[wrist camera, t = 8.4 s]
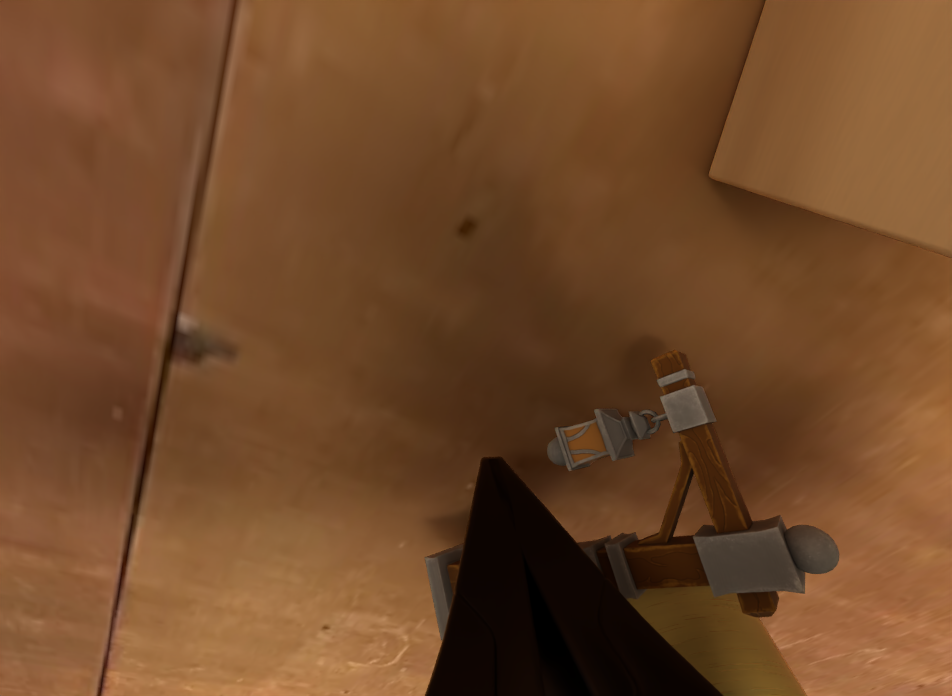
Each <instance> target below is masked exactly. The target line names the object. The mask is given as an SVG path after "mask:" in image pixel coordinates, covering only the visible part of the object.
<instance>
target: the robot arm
mask: <svg viewBox="0 0 952 696" xmlns="http://www.w3.org/2000/svg"><path fill="white" fill-rule="evenodd" d="M425 696H724V695H723V694H722V693H720V692H719V691H718V690H717V689H716V688H715V687H714V686H713V685H712V684H711V683H710V682H709V681H708V680H707V679H706V678H705V677H704V676H703V675H702V674H701V673H700V672H699V671H697V670H696V669H695V668H694V667H693V666H692V665H691V664H690V663H689V662H688V661H687V660H686V659H685V658H684V657H683V656H682V655H681V654H680V653H679V652H678V651H677V650H676V649H675V648H673V647H672V646H671V645H670V644H669V643H668V642H667V641H666V640H665V639H664V638H663V637H662V636H661V635H660V634H659V633H658V632H657V631H656V630H655V629H654V628H653V627H652V626H651V625H650V624H649V623H648V622H647V621H646V620H645V619H644V618H643V617H642V616H641V615H640V613H639V612H638V611H637V610H636V609H635V608H634V607H633V606H632V605H631V604H630V603H629V601H628V600H627V599H626V598H625V597H624V596H623V595H622V594H621V593H620V592H619V590H618V589H617V588H616V587H615V586H614V585H613V583H612V582H611V581H610V580H609V579H605V575H604V573H603V572H602V571H601V570H600V569H599V568H598V567H597V565H596V564H595V563H594V562H593V561H592V560H591V559H590V557H589V556H588V555H587V554H586V553H585V552H584V550H583V549H582V548H581V547H580V546H579V545H578V544H577V542H576V541H575V540H574V539H573V538H572V537H571V536H570V534H569V533H568V532H567V531H566V530H565V529H564V528H563V526H562V525H561V524H560V523H559V522H558V521H557V520H556V518H555V517H554V516H553V515H552V514H551V513H550V512H549V510H548V509H547V508H546V507H545V506H544V505H543V504H542V502H541V501H540V500H539V499H538V498H537V497H536V496H535V494H534V493H533V492H532V491H531V490H530V489H529V488H528V486H527V485H526V484H525V483H524V482H523V481H522V480H521V478H520V477H519V476H518V475H517V474H516V473H515V472H514V470H513V469H512V468H511V467H510V466H509V465H508V464H507V462H506V461H505V460H504V459H503V458H502V457H499V456H498V457H483V458H482V459H481V462H480V467H479V472H478V477H477V482H476V486H475V491H474V496H473V501H472V506H471V511H470V516H469V520H468V525H467V530H466V535H465V540H464V545H463V549H462V554H461V559H460V564H459V569H458V574H457V579H456V583H455V588H454V594H453V597H452V602H451V607H450V611H449V616H448V620H447V624H446V628H445V632H444V637H443V641H442V644H441V648H440V651H439V654H438V657H437V660H436V664H435V667H434V670H433V673H432V676H431V679H430V682H429V685H428V688H427V691H426V694H425Z"/></svg>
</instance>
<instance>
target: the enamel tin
mask: <svg viewBox="0 0 952 696" xmlns="http://www.w3.org/2000/svg"><path fill="white" fill-rule="evenodd" d="M627 600H628V601H629V603H630V604H631V605H632V606H633V607H634V608H635V609H636V610H637V611H638V612H639V613H640V615H641V616H642V617H643V618H644V619H645V620H646V621H647V622H648V623H649V624H650V625H651V626H652V627H653V628H654V629H655V630H656V631H657V632H658V633H659V634H660V635H661V636H662V637H663V638H664V639H665V640H666V641H667V642H668V643H669V644H670V645H671V646H672V647H673V648H675V649H676V650H677V651H678V652H679V653H680V654H681V655H682V656H683V657H684V658H685V659H686V660H687V661H688V662H689V663H690V664H691V665H692V666H693V667H694V668H695V669H696V670H697V671H699V672H700V673H701V674H702V675H703V676H704V677H705V678H706V679H707V680H708V681H709V682H710V683H711V684H712V685H713V686H714V687H715V688H716V689H717V690H718V691H719V692H720V693H722V694H723V695H724V696H807V695H806V693H805V692H804V690H803V688H802V687H801V685H800V683H799V682H798V680H797V679H796V677H795V675H794V674H793V672H792V670H791V669H790V667H789V666H788V664H787V662H786V661H785V659H784V657H783V656H782V654H781V653H780V651H779V649H778V648H777V646H776V644H775V643H774V641H773V640H772V638H771V636H770V635H769V633H768V631H767V630H766V628H765V627H764V625H763V623H762V622H761V620H760V618H759V617H752V616H749V615H746V614H743V613H742V610H741V606H740V603H739V600H738V596H737V593H729V594H725V595H722V596H718V597H714V596H713V593H712V590H711V587H710V586H695V587H676V588H657V589H647V590H646V591H645V592H644V593H643V594H642V595H641V596H640V597H639V598H638V599H633V598H629V599H627Z"/></svg>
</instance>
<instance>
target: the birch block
mask: <svg viewBox="0 0 952 696" xmlns="http://www.w3.org/2000/svg"><path fill="white" fill-rule="evenodd" d="M709 177H710V178H711V179H713V180H716V181H719V182H723V183H726V184H729V185H732V186H735V187H738V188H741V189H744V190H747V191H750V192H753V193H756V194H759V195H762V196H765V197H768V198H771V199H774V200H777V201H780V202H783V203H786V204H789V205H792V206H795V207H799V208H802V209H805V210H808V211H811V212H814V213H817V214H820V215H823V216H826V217H829V218H832V219H835V220H838V221H841V222H844V223H847V224H850V225H853V226H856V227H859V228H862V229H865V230H868V231H872V232H875V233H878V234H881V235H884V236H887V237H890V238H893V239H896V240H899V241H902V242H905V243H908V244H911V245H914V246H917V247H920V248H923V249H926V250H929V251H932V252H935V253H938V254H941V255H944V256H948V257H951V258H952V0H766V1H765V4H764V7H763V10H762V14H761V17H760V20H759V23H758V26H757V29H756V32H755V35H754V38H753V41H752V44H751V47H750V50H749V53H748V56H747V59H746V62H745V65H744V68H743V71H742V74H741V77H740V80H739V83H738V86H737V89H736V92H735V95H734V98H733V102H732V105H731V108H730V111H729V114H728V117H727V120H726V123H725V126H724V129H723V132H722V135H721V138H720V141H719V144H718V147H717V150H716V153H715V156H714V159H713V162H712V165H711V168H710V171H709Z"/></svg>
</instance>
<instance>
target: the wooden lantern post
mask: <svg viewBox="0 0 952 696" xmlns="http://www.w3.org/2000/svg"><path fill="white" fill-rule="evenodd" d="M651 364H652V366H653V369H654V371H655V373H656V375H657V377H658V380H656V381H657V383H658V385H659V386H660V387H662V390H663V393H664V396H661V397H660V399H661V402H662V404H663V407H664V410H665V412H666V413H665V414H662V415H659V416H658V415H657V414H656V412H654V411H652V410H642V411H641V412H640V411H629V416H630V417H622V416H621V415H620V414H619V412H618V410H617V409H595V410H594V412H595V415H596V418H595V419H594V420H592V421H588V422H585V423H581V424H578V425H575V426H566V427H556V428H555V431H556V434H557V437H556V438H554V439H553V440H552V441H551V442H550V443H549V444H548V447H547V454H548V457H549V459H550V460H551V461H552V462H553V463H554V464H557V465H561V466H565V465H567V468H568V471H571V470H575V469H580V468H584V467H588V466H590V464H591V463H592V462H594V461H596V460H598V459H601V458H604V457H606V456H609V455H610V456H611V459H612V461H615V460H619V459H624V458H628V457H632V456H635V455H634V451H633V442H632V440H634V439H639V440H642V439H649V438H650V434H653V433H655V432H656V431H658V429H659V427H660V425H661V423H660V421H663V420H666V419H668V420H669V423H670V426H671V428H672V431H673V433H676V432H679V435H680V438H681V441H680V442H679V449H680V456H681V467H680V470H679V473H678V476H677V479H676V482H675V485H674V488H673V491H672V495H671V498H670V501H669V504H668V507H667V510H666V513H665V516H664V519H663V522H662V525H661V529H660V532H659V533H657V534H654V535H651V536H648V537H646V538H644V539H643V540H638V538H637V535H636V532H635V533H632V534H624V533H622V534H620V535H618V536H617V537H615V538H613V539H611V536H607V537H604V538H602V539H599V540H594V541H587V542H581V543H577V544H578V545H579V546H580V547H581V548H582V549H583V550H584V552H585V553H586V554H587V555H588V556H589V557H590V559H591V560H592V561H593V562H594V563H595V564H596V565H597V567H598V568H599V569H600V570H601V571H602V572H603V573H604V575H605V579H609V580H610V581H611V582H612V583H613V585H614V586H615V587H616V588H617V589H618V590H619V592H620V593H621V594H622V595H623V596H624V597H625V598H626V599H629V598H633V599H638V598H639V597H640V596H641V595H642V594H643V593H644V592H645V591H646V590H647V589H657V588H676V587H695V586H710V587H711V590H712V593H713V596H714V597H718V596H722V595H725V594H729V593H737V596H738V600H739V603H740V606H741V610H742V613H743V614H746V615H749V616H752V617H769V616H772V615H773V614H774V612H775V611H776V609H777V605H778V600H779V597H778V594H777V592H776V591H789V592H796V593H803V594H805V573H804V572H807V573H811V574H822V573H827V572H829V571H831V570H833V569H834V568H835V567H836V565H837V563H838V561H839V551H838V548H837V545H836V544H835V542H834V540H833V539H832V538H831V537H830V536H829V535H828V534H827V533H825V532H824V531H822V530H820V529H818V528H816V527H814V526H809V525H797V526H793V527H791V528H789V529H786V527H785V525H784V522H783V520H782V517H781V515H779V516H776V517H773V518H769V519H766V520H760V521H752V520H751V518H750V515H749V513H748V510H747V508H746V505H745V503H744V500H743V498H742V496H741V493H740V491H739V488H738V486H737V483H736V481H735V478H734V476H733V473H732V471H731V468H730V466H729V463H728V461H727V459H726V456H725V454H724V451H723V449H722V446H721V444H720V441H719V439H718V436H717V434H716V431H715V429H714V426H713V424H712V423H714V422H717V421H716V418H715V416H714V413H713V411H712V409H711V406H710V404H709V401H708V399H707V396H706V394H705V391H704V389H703V387H701V386H697V384H696V382H695V374H694V372H693V371H691V369H690V366H689V363H688V360H687V357H686V355H685V354H683V353H681V352H678V351H676V350H673V351H671V352H668V353H666V354H664V355H661V356H659V357H656V358H654V359H652V361H651ZM644 414H650V415H652V416H653V417H654V418H652V419H651V421H652V422H653V423H655V422H656V425H655V427H654V428H652V429H651V427H650V424H649V422H648V419H647V418H646V417H645V416H644ZM693 474H695V477H696V480H697V482H698V485H699V488H700V490H701V493H702V495H703V498H704V501H705V503H706V506H707V509H708V511H709V514H710V517H711V519H712V522H713V524H714V525H703V526H702V527H701V528H700V529H699V530H698V532H697V533H696V534H695V535H691V536H679V537H673V534H674V531H675V528H676V525H677V522H678V519H679V516H680V513H681V510H682V507H683V504H684V501H685V498H686V495H687V492H688V489H689V486H690V483H691V480H692V477H693ZM463 545H464V543H463V544H460V545H457V546H454V547H452V548H449V549H446V550H443V551H441V552H438V553H435V554H432V555H430V556H427V557H425V561H426V566H427V571H428V577H429V582H430V587H431V592H432V597H433V602H434V607H435V612H436V617H437V622H438V627H439V632H440V637H441V640H443V637H444V632H445V628H446V624H447V620H448V616H449V611H450V607H451V602H452V597H453V594H454V588H455V583H456V579H457V574H458V569H459V564H460V559H461V554H462V549H463Z"/></svg>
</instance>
